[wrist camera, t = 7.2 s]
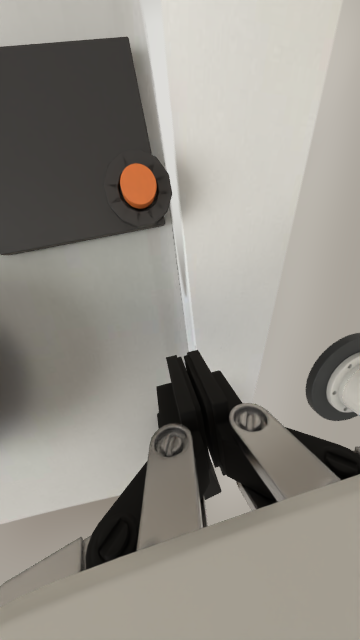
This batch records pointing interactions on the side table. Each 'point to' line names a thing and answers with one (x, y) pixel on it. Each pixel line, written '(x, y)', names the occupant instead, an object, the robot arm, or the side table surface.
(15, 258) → the side table surface
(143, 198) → the button
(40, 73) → the scale
